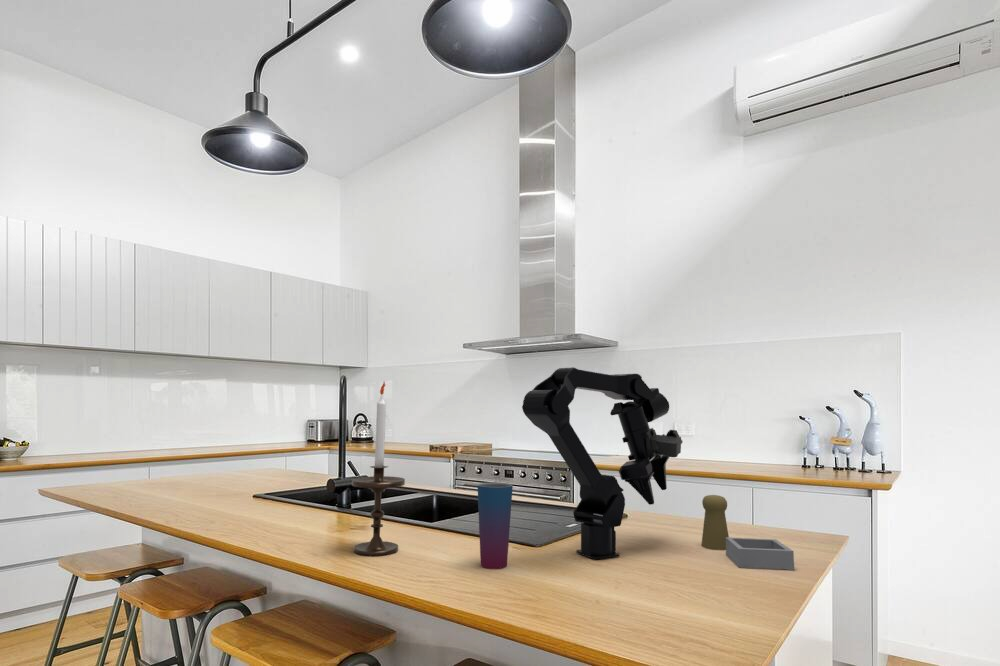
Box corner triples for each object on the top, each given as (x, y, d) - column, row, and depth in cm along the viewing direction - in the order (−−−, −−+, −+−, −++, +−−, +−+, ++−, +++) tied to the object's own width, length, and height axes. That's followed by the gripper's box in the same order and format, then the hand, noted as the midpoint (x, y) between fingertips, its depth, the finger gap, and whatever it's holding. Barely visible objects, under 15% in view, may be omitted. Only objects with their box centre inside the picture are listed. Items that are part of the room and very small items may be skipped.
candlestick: (412, 552, 122) (417, 381, 126) (362, 560, 115) (369, 379, 119) (387, 542, 130) (393, 382, 134) (340, 549, 124) (347, 380, 128)
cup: (477, 560, 117) (478, 482, 118) (511, 561, 116) (512, 482, 118) (474, 569, 110) (476, 486, 112) (511, 570, 110) (512, 487, 111)
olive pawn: (736, 549, 129) (734, 497, 130) (711, 550, 127) (710, 497, 129) (720, 543, 135) (718, 493, 136) (696, 544, 133) (694, 493, 134)
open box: (739, 567, 114) (738, 548, 115) (726, 554, 124) (725, 537, 124) (794, 570, 113) (793, 551, 113) (776, 556, 123) (775, 539, 123)
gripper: (657, 432, 120) (682, 507, 119) (682, 411, 136) (703, 477, 135) (608, 442, 126) (631, 514, 125) (637, 421, 142) (657, 484, 141)
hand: (658, 496), depth 131 cm, fingers open, 9 cm apart
